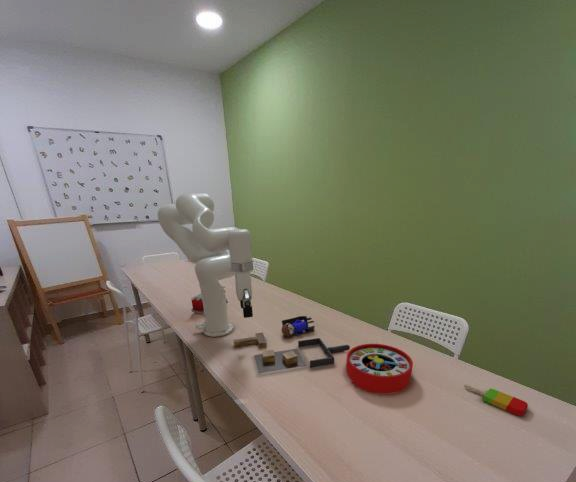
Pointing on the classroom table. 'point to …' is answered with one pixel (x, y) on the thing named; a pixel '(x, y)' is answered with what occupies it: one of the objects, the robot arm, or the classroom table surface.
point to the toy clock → (379, 368)
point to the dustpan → (326, 350)
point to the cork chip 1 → (268, 356)
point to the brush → (252, 341)
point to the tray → (277, 362)
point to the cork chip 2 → (289, 357)
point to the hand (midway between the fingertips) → (246, 312)
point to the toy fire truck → (199, 304)
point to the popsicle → (503, 401)
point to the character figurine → (296, 325)
